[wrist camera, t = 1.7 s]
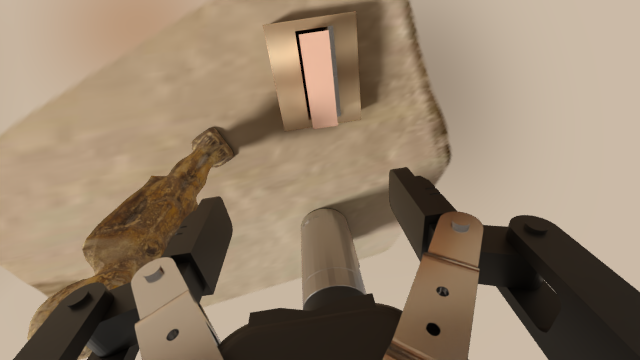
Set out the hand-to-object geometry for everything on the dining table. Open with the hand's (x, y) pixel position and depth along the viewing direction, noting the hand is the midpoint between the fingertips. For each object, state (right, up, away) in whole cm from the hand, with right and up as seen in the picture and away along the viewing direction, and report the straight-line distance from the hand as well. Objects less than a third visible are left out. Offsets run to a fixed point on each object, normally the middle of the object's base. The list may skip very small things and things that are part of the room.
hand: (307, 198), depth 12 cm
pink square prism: (0, +16, +24) cm, 29 cm away
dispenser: (0, +16, +24) cm, 29 cm away
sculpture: (-17, +6, +29) cm, 34 cm away
